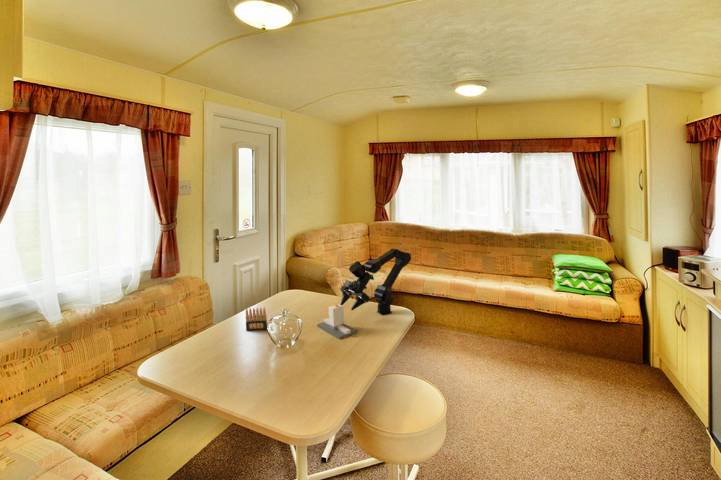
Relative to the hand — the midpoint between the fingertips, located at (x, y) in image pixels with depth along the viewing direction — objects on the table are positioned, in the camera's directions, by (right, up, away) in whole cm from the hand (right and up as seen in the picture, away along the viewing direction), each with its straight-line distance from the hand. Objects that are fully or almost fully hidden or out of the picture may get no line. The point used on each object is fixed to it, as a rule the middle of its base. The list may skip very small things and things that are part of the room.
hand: (346, 307), depth 176 cm
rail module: (-5, -10, -2) cm, 11 cm away
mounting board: (-5, -11, -2) cm, 12 cm away
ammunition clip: (-46, -12, 0) cm, 47 cm away
